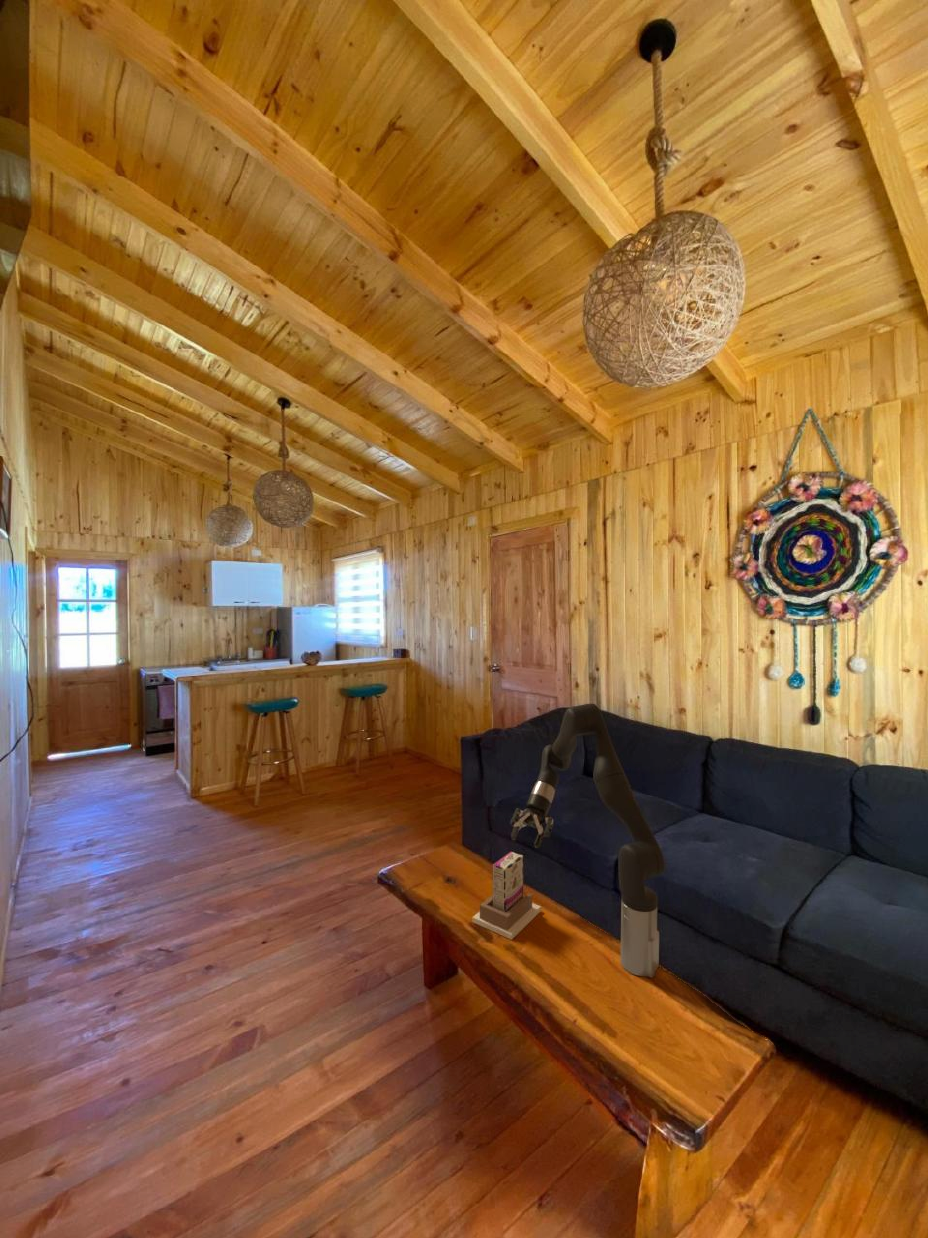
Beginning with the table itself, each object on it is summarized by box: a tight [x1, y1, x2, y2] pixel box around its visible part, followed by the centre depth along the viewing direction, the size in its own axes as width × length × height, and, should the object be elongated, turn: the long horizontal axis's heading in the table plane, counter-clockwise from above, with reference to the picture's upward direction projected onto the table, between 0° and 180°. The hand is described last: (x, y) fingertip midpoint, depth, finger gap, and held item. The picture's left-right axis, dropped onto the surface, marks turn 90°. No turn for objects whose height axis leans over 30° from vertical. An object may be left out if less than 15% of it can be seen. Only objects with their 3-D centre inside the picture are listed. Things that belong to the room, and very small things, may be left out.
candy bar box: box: [491, 851, 524, 913], centre depth 161 cm, size 11×5×16 cm, turn 143°
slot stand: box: [471, 893, 542, 941], centre depth 161 cm, size 14×18×6 cm
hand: (524, 843), depth 169 cm, fingers open, 8 cm apart
